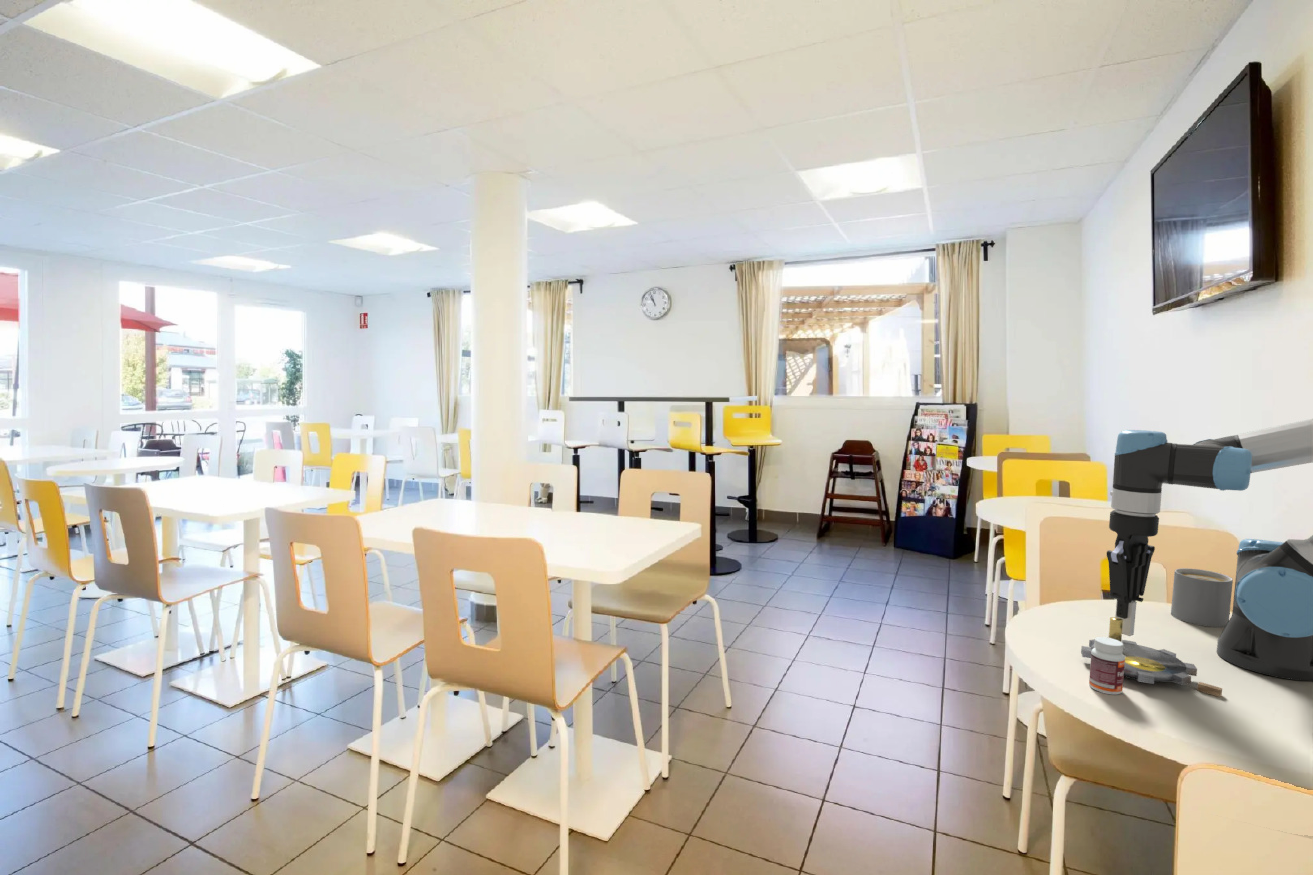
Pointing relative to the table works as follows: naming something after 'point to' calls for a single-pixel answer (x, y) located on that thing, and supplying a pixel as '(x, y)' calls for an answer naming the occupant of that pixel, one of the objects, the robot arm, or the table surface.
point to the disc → (1147, 660)
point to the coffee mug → (1201, 597)
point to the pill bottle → (1107, 666)
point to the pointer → (1209, 689)
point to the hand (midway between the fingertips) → (1123, 632)
